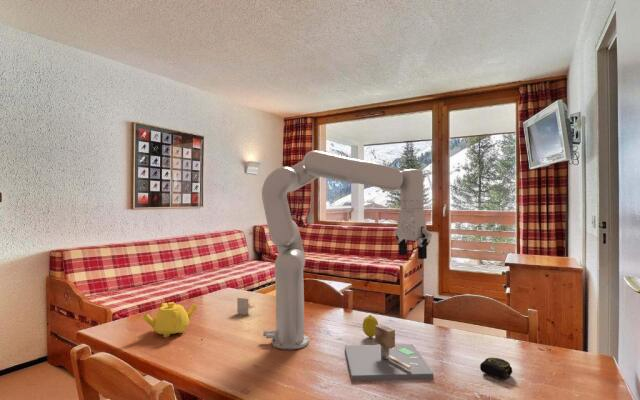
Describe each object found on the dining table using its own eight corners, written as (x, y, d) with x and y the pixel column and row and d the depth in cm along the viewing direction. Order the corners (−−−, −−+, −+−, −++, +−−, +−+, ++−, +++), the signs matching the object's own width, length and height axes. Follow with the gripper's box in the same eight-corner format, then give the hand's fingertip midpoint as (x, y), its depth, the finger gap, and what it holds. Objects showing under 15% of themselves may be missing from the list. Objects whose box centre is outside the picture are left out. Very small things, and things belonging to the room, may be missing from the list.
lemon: (378, 341, 123) (378, 318, 123) (362, 340, 124) (361, 317, 124) (378, 335, 128) (378, 313, 128) (363, 334, 129) (363, 312, 129)
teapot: (149, 347, 120) (149, 314, 120) (135, 332, 134) (135, 302, 134) (207, 332, 133) (206, 302, 133) (188, 320, 147) (188, 293, 147)
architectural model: (241, 312, 158) (241, 295, 158) (255, 314, 156) (254, 297, 156) (237, 314, 155) (236, 297, 155) (250, 316, 152) (250, 299, 152)
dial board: (351, 381, 96) (351, 375, 96) (344, 350, 116) (344, 345, 116) (433, 379, 96) (433, 373, 96) (412, 348, 116) (412, 343, 116)
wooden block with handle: (375, 354, 108) (375, 325, 108) (381, 352, 109) (381, 324, 109) (406, 371, 97) (406, 339, 97) (413, 369, 98) (412, 337, 98)
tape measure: (478, 374, 99) (478, 360, 99) (492, 367, 103) (492, 354, 103) (503, 384, 94) (502, 370, 94) (516, 377, 98) (516, 363, 98)
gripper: (387, 205, 127) (387, 254, 127) (421, 206, 112) (421, 261, 111) (404, 205, 130) (404, 252, 130) (439, 206, 115) (439, 259, 115)
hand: (412, 256), depth 121 cm, fingers open, 9 cm apart
